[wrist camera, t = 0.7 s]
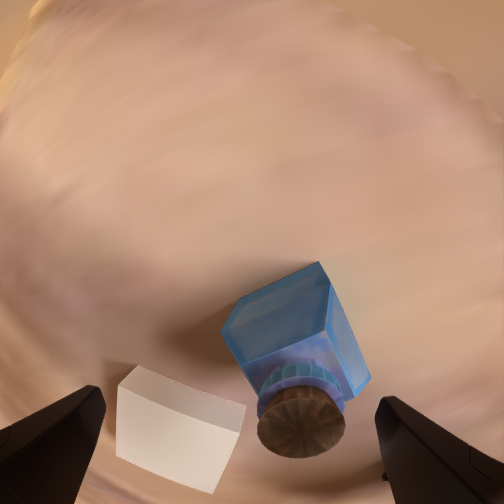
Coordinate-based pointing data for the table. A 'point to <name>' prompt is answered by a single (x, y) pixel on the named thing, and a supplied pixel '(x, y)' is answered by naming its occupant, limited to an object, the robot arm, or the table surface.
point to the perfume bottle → (297, 361)
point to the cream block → (175, 429)
